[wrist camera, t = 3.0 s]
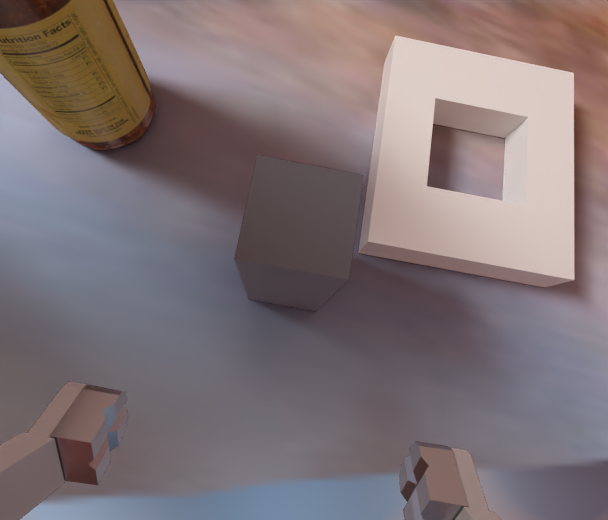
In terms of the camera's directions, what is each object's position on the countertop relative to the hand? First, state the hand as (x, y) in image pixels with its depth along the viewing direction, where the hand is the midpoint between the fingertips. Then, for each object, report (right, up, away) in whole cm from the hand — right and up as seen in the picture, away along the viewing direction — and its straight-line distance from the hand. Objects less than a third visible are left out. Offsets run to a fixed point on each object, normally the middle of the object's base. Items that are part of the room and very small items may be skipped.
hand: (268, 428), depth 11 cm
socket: (+11, +11, +15) cm, 22 cm away
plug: (0, +4, +13) cm, 13 cm away
